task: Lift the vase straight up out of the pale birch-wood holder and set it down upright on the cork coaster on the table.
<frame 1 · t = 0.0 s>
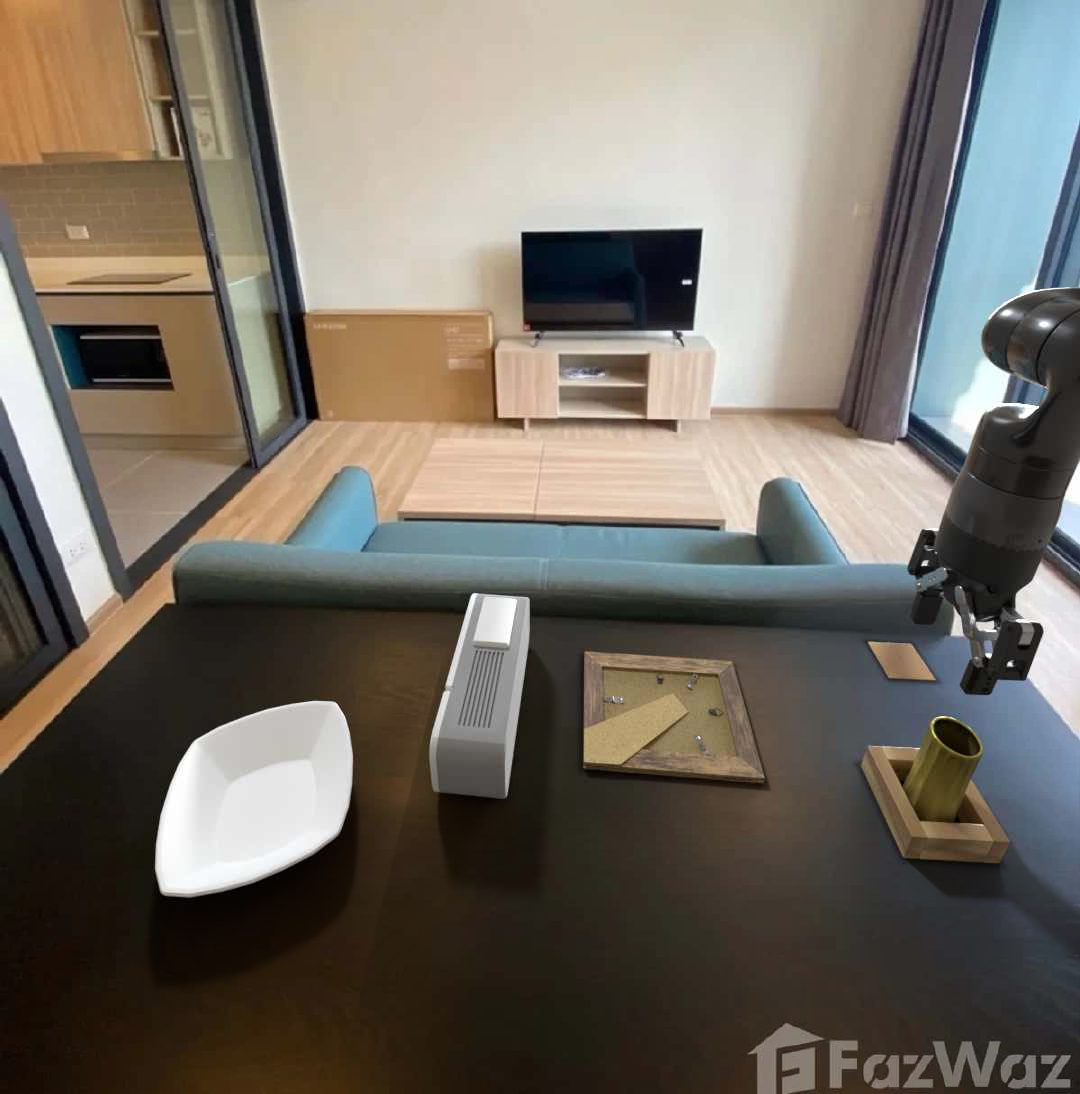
hand: (945, 654, 58), 31 cm above the table, tool pointing down, fingers open, 8 cm apart
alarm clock: (488, 713, 86), on the table
bowl: (268, 810, 73), on the table
picture frame: (663, 715, 86), on the table
coaster: (899, 662, 95), on the table
holder: (924, 812, 73), on the table
vase: (923, 813, 73), resting in holder
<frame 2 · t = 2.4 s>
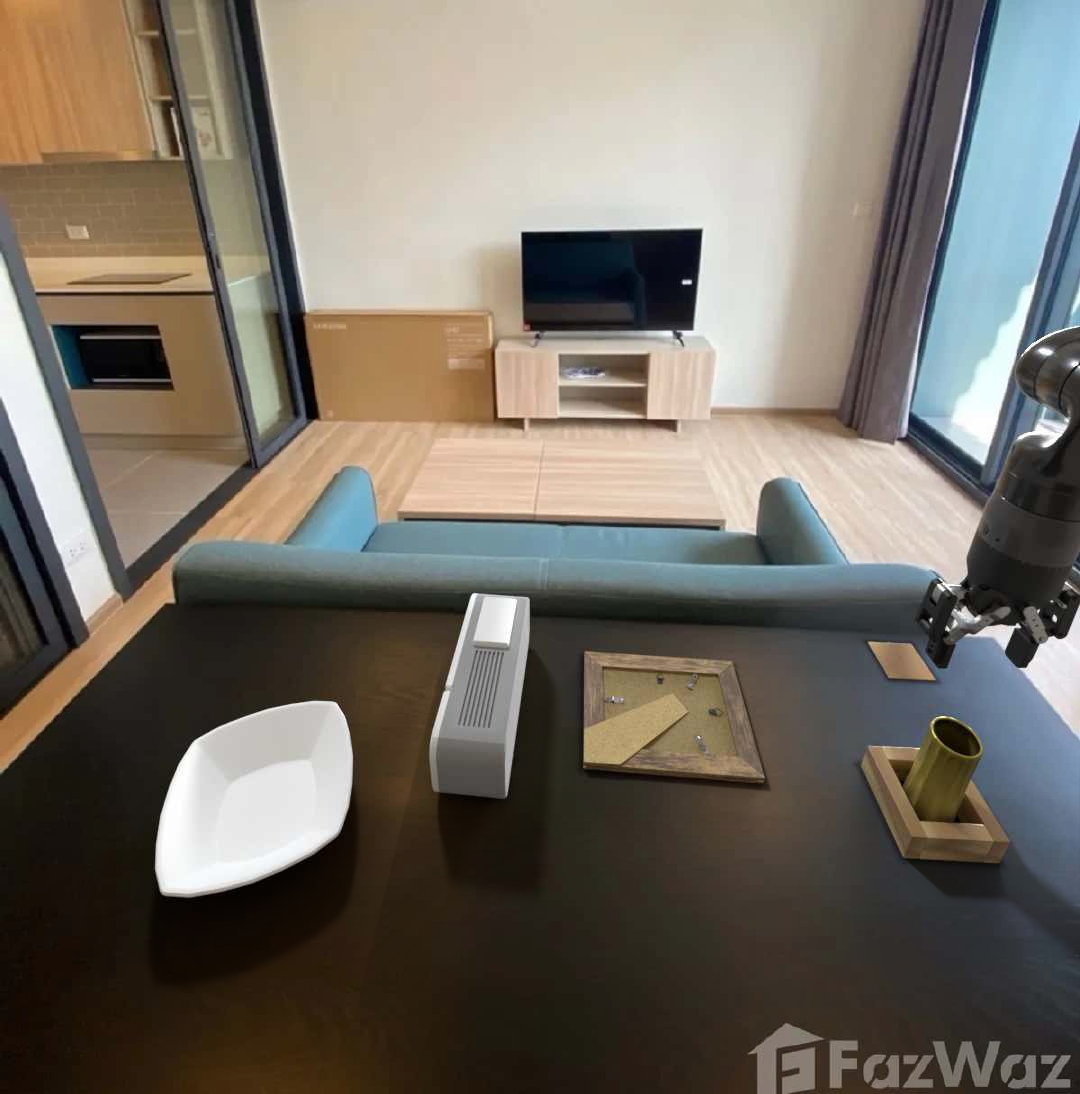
hand: (975, 661, 62), 27 cm above the table, tool pointing down, fingers open, 8 cm apart
nothing on the table moved.
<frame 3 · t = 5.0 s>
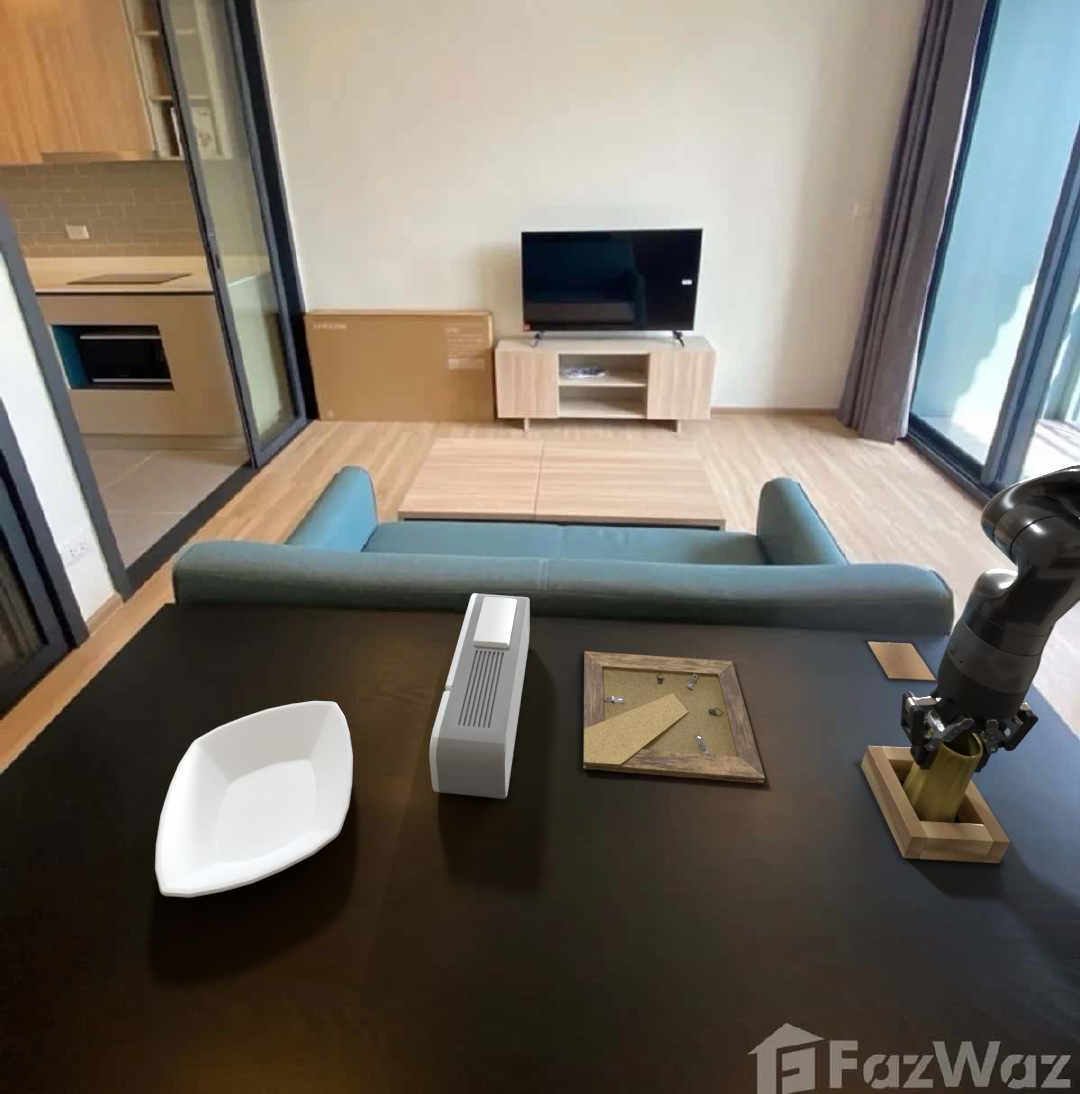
hand: (945, 763, 70), 9 cm above the table, tool pointing down, fingers closed on vase, 5 cm apart
vase: (923, 813, 73), resting in holder, touching gripper
everything else where it was.
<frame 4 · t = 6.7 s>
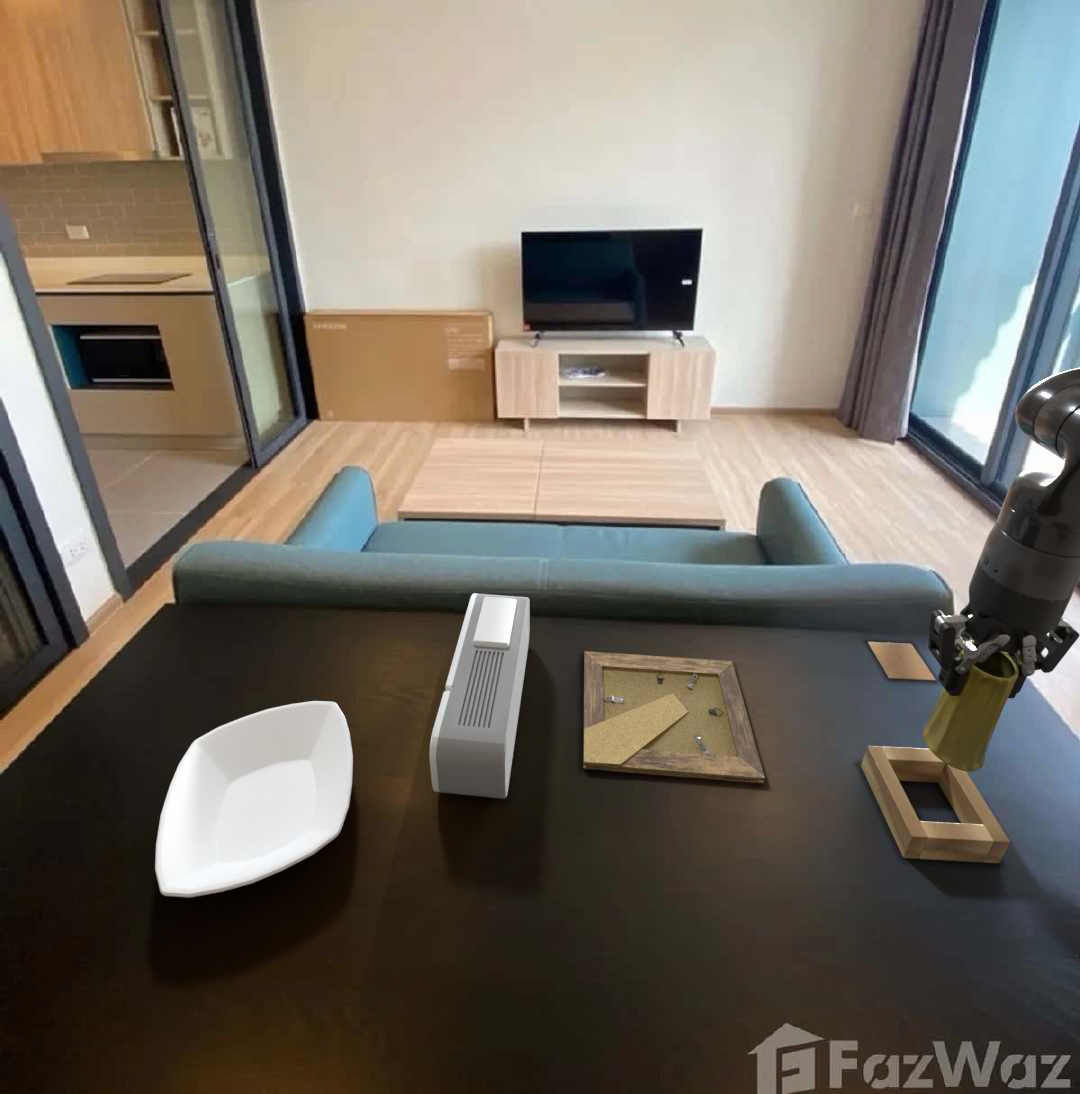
hand: (976, 689, 65), 22 cm above the table, tool pointing down, fingers closed on vase, 5 cm apart
vase: (952, 747, 69), point 12 cm above the table, touching gripper
everything else where it was.
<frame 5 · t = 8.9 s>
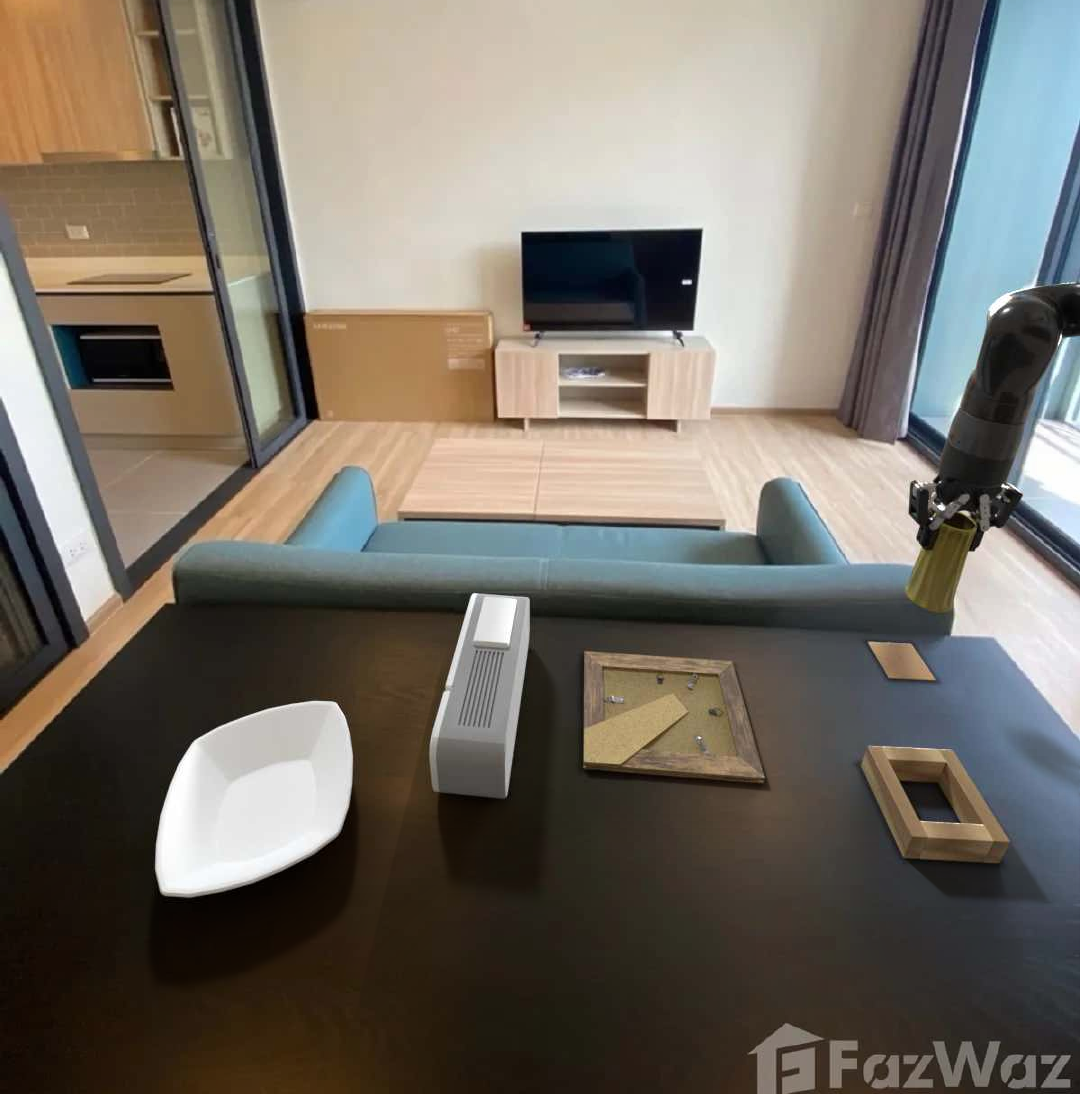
hand: (945, 546, 83), 25 cm above the table, tool pointing down, fingers closed on vase, 5 cm apart
vase: (927, 599, 87), point 15 cm above the table, touching gripper
everything else where it was.
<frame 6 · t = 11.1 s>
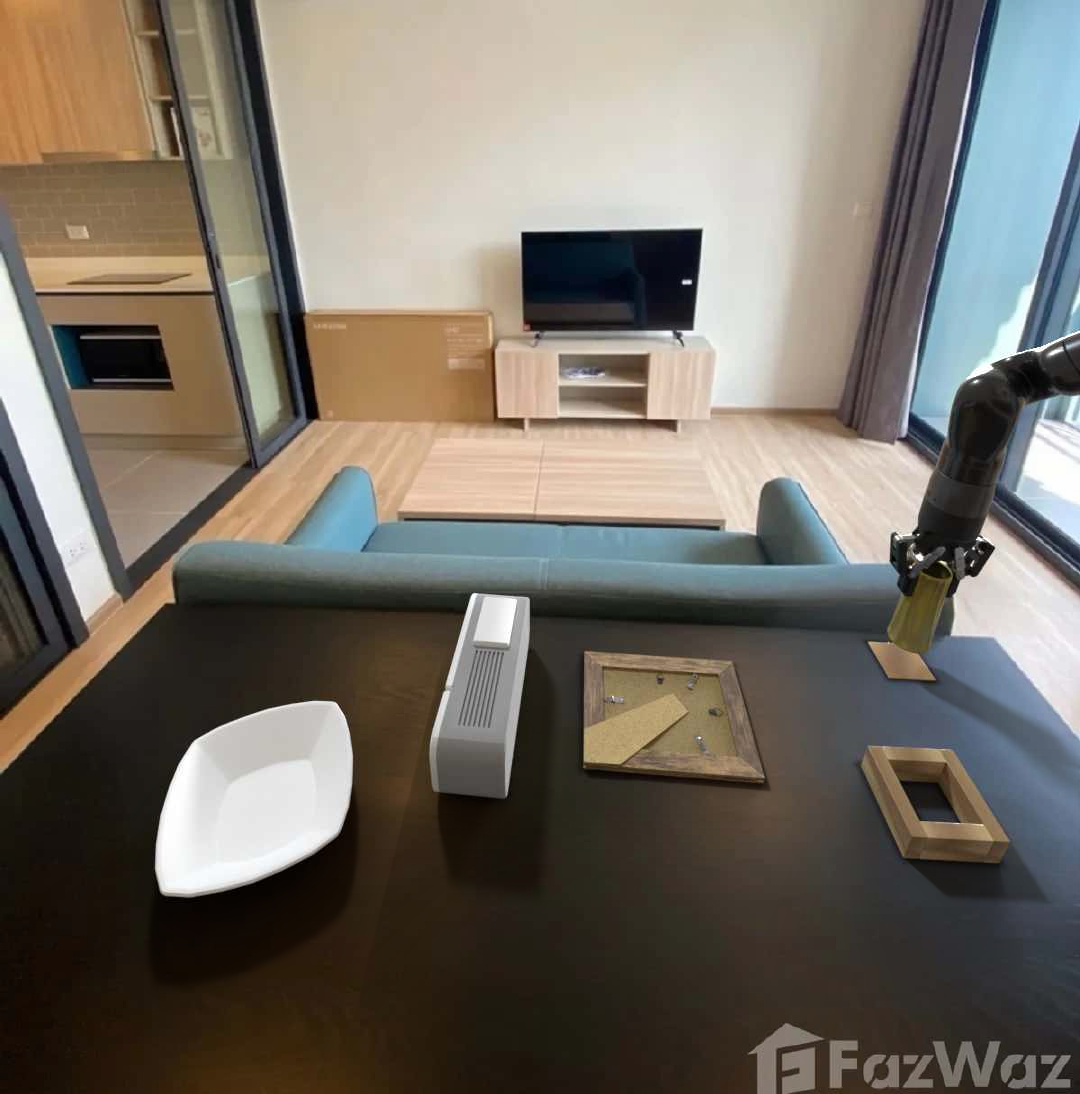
hand: (924, 592, 89), 15 cm above the table, tool pointing down, fingers closed on vase, 5 cm apart
vase: (908, 639, 92), point 5 cm above the table, touching gripper
everything else where it was.
when the fingers open (10 cm above the table, at t = 12.8 s): vase stays where it is, resting on coaster.
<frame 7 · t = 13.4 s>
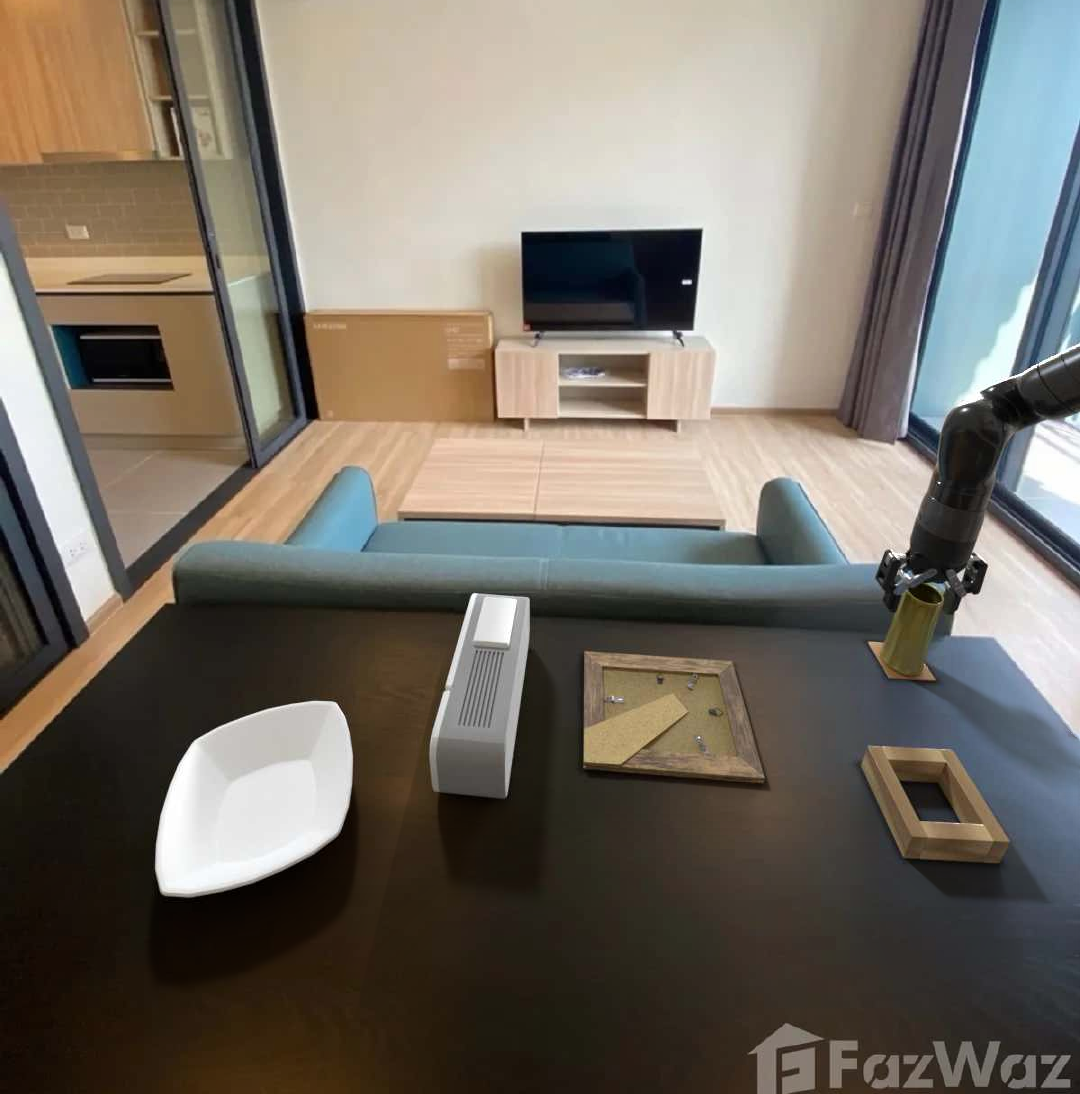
hand: (918, 609, 90), 11 cm above the table, tool pointing down, fingers open, 8 cm apart
vase: (900, 661, 94), resting on coaster
everything else where it was.
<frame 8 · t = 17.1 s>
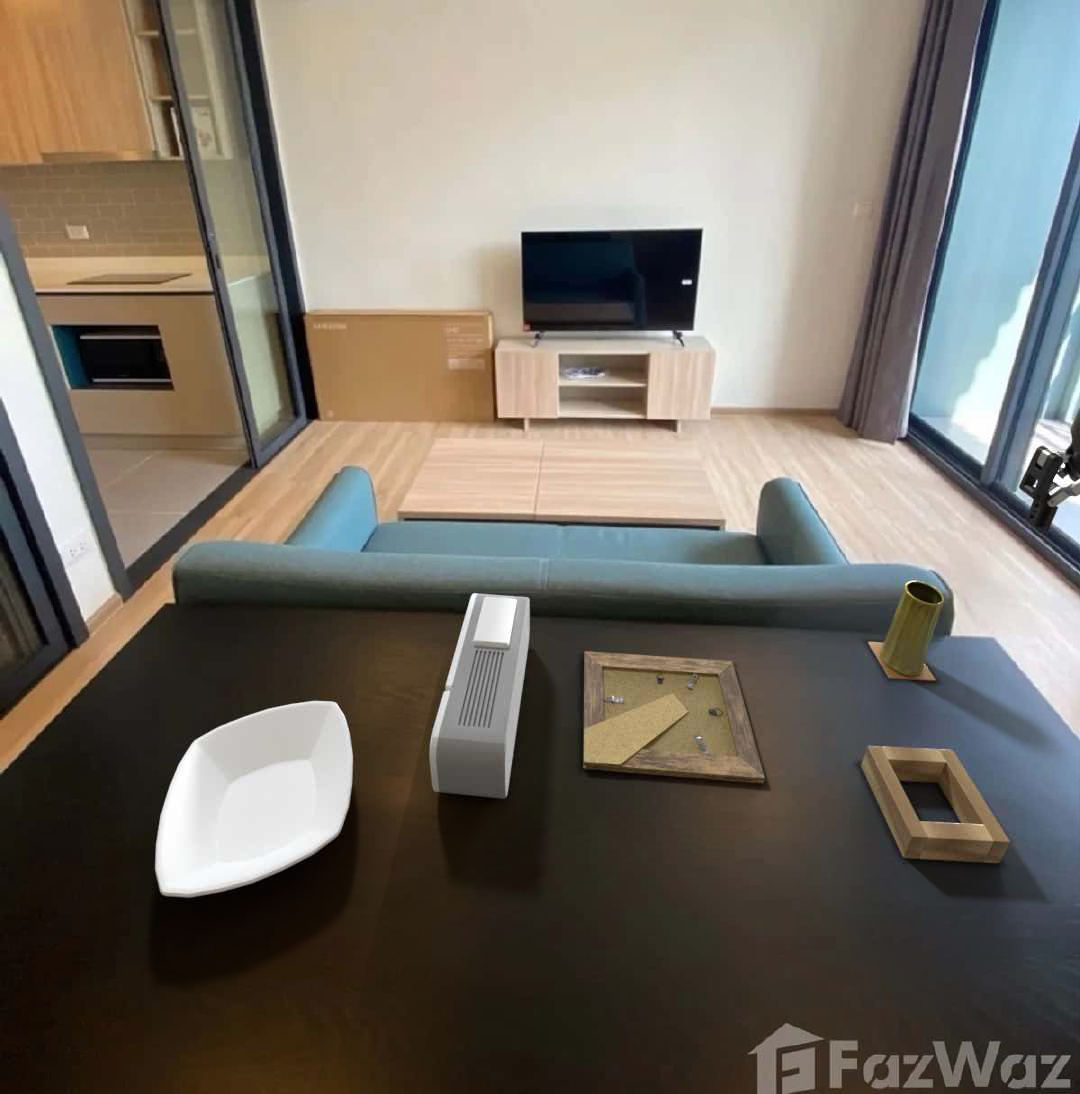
hand: (1074, 529, 69), 36 cm above the table, tool pointing down, fingers open, 8 cm apart
nothing on the table moved.
at the end: vase inside the target area on the coaster (0.1 cm from its centre), point 0.4 cm above the coaster's base; vase tilted 0°; the gripper is holding nothing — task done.
